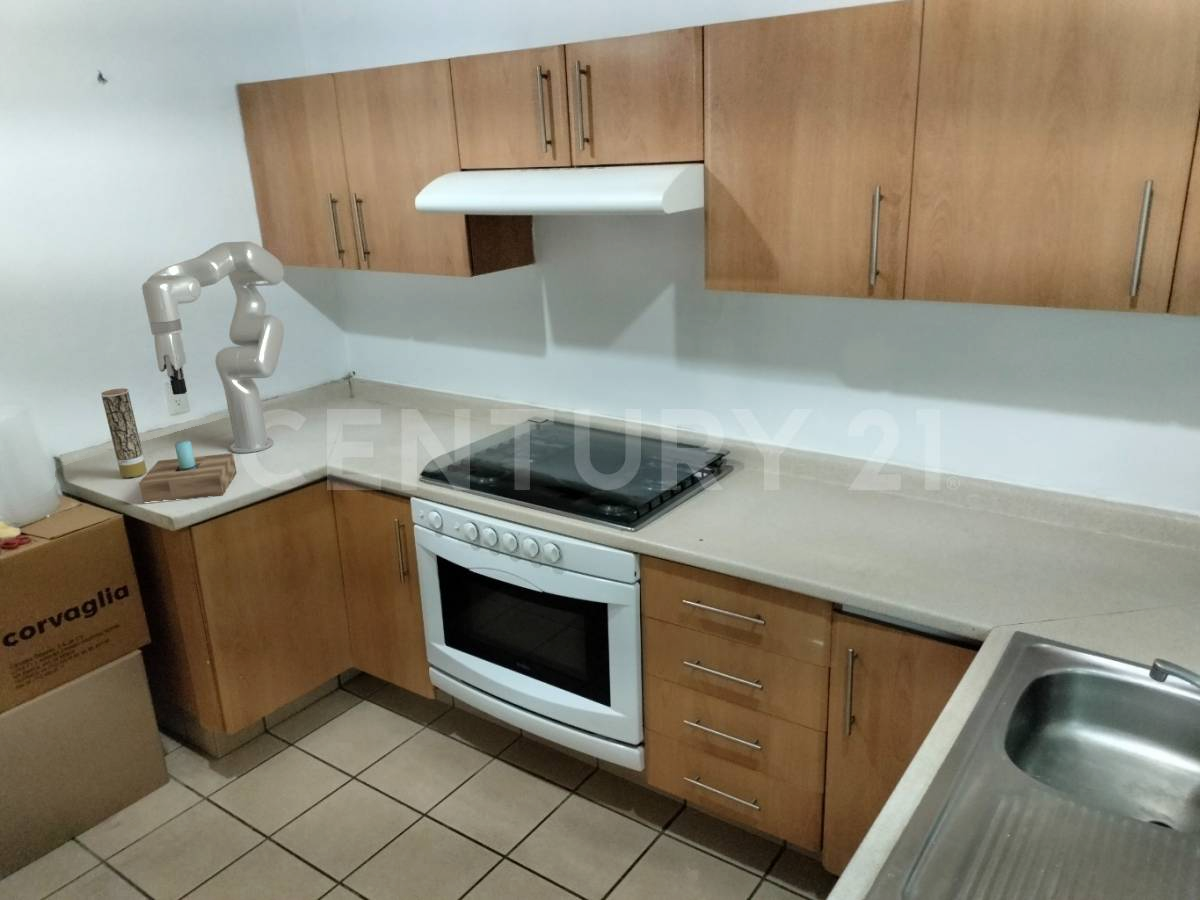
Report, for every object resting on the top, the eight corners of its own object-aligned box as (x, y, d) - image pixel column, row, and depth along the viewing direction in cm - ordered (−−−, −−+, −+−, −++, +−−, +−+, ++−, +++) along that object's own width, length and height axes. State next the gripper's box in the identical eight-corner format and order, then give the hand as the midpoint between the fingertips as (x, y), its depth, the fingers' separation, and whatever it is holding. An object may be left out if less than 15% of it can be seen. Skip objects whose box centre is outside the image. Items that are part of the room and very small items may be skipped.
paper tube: (136, 479, 257) (116, 394, 249) (115, 478, 259) (95, 394, 251) (152, 471, 264) (133, 388, 256) (131, 470, 265) (112, 388, 257)
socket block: (163, 480, 255) (158, 460, 253) (236, 472, 258) (232, 453, 256) (143, 503, 238) (139, 482, 236) (223, 495, 241) (218, 474, 239)
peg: (185, 482, 250) (176, 441, 246) (201, 481, 250) (192, 440, 246) (181, 487, 246) (172, 446, 242) (197, 486, 246) (188, 444, 242)
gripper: (159, 323, 247) (173, 388, 253) (142, 333, 233) (157, 402, 239) (187, 320, 248) (201, 385, 254) (173, 331, 234) (187, 399, 240)
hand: (180, 393), depth 247 cm, fingers closed
